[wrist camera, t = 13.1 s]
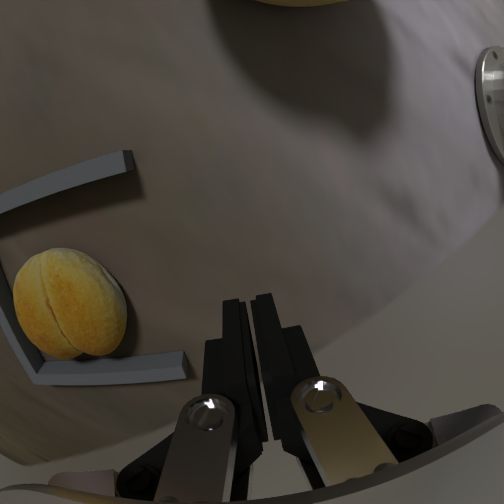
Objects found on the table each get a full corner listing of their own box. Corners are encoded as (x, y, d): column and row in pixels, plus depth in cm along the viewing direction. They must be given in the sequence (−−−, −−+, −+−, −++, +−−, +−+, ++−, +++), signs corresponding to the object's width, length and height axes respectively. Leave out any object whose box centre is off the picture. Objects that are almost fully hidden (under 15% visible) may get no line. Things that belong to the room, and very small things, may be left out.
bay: (131, 150, 16) (122, 150, 14) (187, 362, 21) (186, 378, 19) (-25, 208, 15) (-39, 214, 13) (41, 371, 20) (34, 384, 18)
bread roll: (145, 337, 20) (134, 373, 16) (53, 347, 20) (35, 377, 16) (108, 230, 17) (84, 251, 13) (13, 256, 17) (-16, 277, 13)
